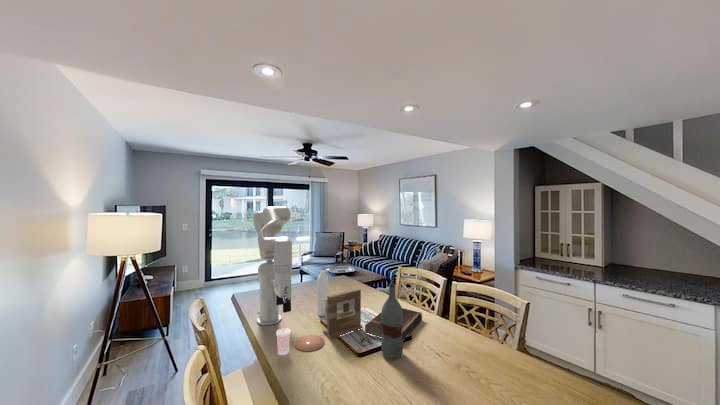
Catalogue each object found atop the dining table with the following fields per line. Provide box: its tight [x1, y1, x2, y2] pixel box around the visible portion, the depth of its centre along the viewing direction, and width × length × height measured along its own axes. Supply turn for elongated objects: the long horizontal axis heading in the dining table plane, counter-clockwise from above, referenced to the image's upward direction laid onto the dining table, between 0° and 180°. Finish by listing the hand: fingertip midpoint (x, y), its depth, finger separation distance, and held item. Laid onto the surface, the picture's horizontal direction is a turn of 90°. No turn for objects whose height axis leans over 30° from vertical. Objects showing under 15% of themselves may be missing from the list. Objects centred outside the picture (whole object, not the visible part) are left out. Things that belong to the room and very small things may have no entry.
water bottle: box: [316, 268, 331, 317], centre depth 158 cm, size 9×6×25 cm
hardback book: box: [364, 307, 423, 342], centre depth 141 cm, size 29×19×5 cm, turn 149°
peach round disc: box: [294, 334, 325, 352], centre depth 125 cm, size 13×13×1 cm
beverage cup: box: [275, 319, 292, 356], centre depth 118 cm, size 6×6×14 cm
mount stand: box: [322, 288, 363, 340], centre depth 137 cm, size 10×18×20 cm, turn 124°
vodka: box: [380, 283, 404, 361], centre depth 116 cm, size 9×9×30 cm
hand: (283, 308), depth 117 cm, fingers open, 9 cm apart
